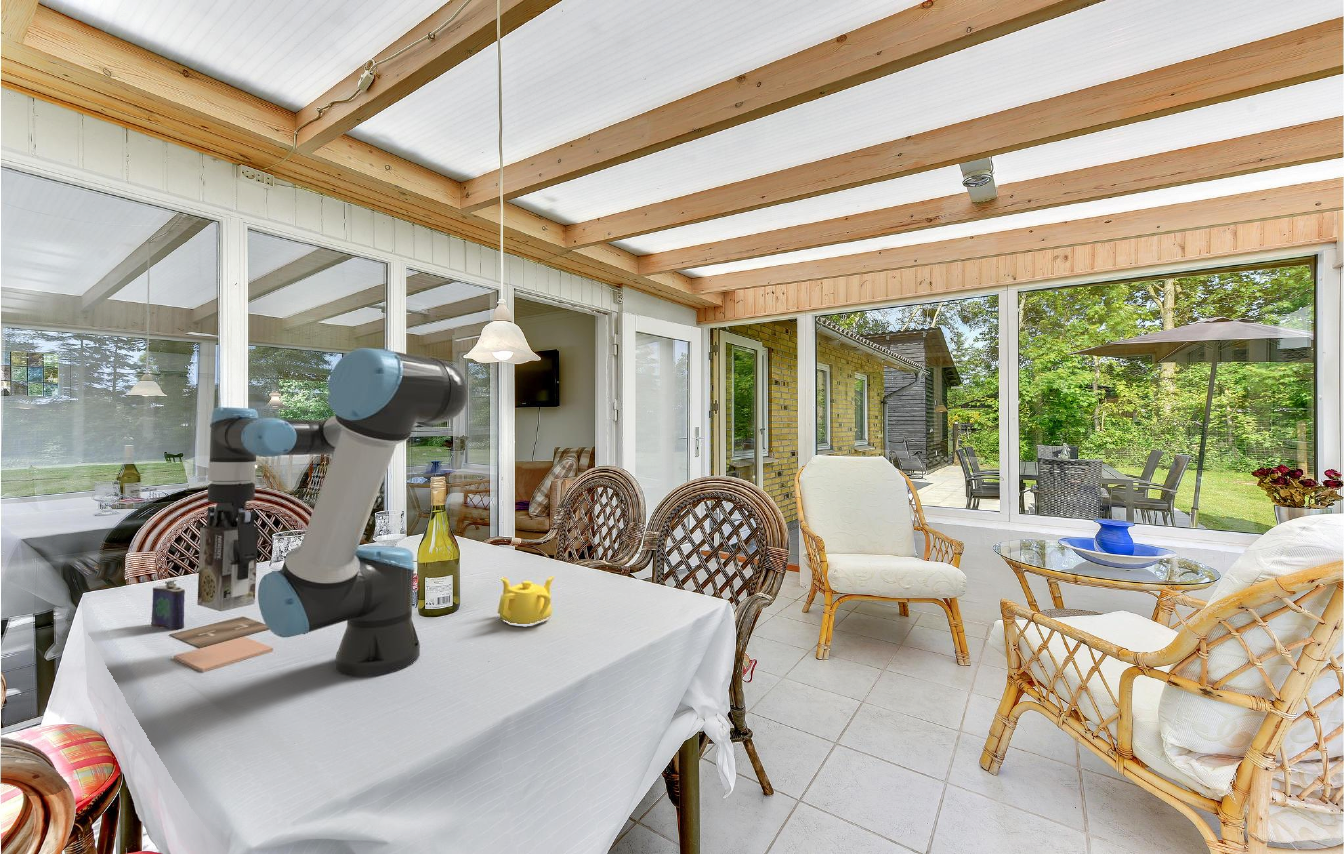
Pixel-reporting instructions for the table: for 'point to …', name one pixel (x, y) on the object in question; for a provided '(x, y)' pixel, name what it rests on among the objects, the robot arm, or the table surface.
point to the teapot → (525, 602)
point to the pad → (223, 653)
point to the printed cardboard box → (221, 570)
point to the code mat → (220, 631)
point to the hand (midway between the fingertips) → (227, 591)
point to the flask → (168, 606)
